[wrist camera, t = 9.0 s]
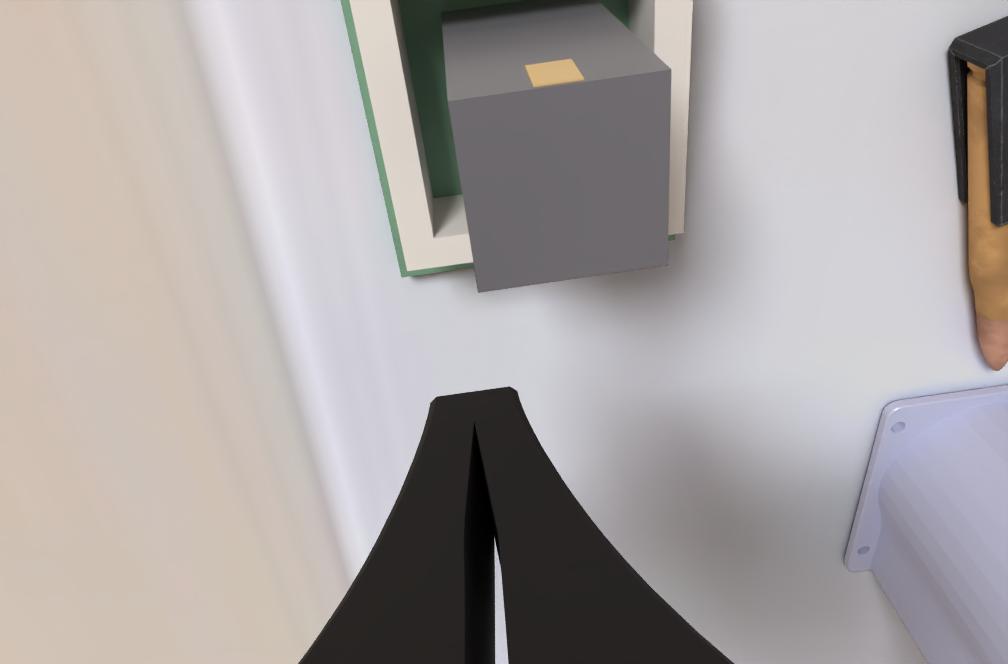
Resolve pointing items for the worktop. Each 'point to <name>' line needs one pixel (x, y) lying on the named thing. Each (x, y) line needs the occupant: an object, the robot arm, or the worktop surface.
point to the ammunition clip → (984, 174)
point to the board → (427, 125)
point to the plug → (557, 141)
